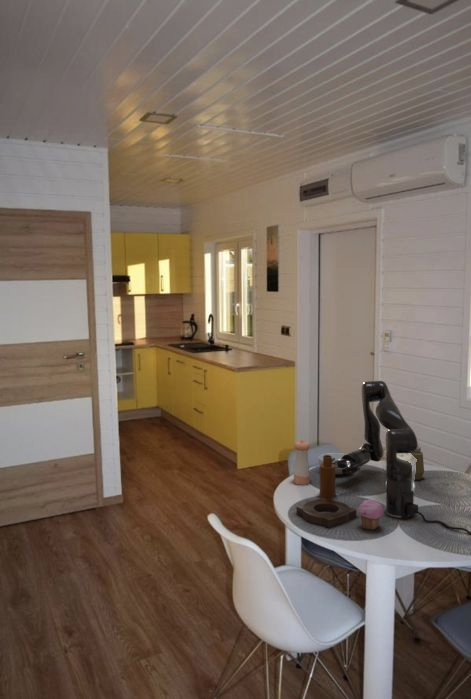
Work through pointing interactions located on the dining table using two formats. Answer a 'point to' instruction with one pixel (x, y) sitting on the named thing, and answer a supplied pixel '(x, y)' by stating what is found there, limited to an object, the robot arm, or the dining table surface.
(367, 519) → the cupcake
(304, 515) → the board
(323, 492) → the bottle
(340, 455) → the cereal bowl
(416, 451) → the squeeze bottle
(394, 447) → the robot arm
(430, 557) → the dining table surface
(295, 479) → the pepper shaker
